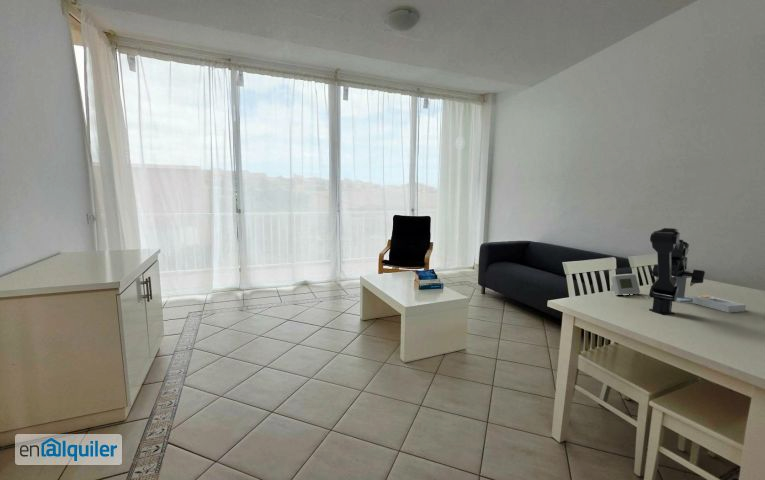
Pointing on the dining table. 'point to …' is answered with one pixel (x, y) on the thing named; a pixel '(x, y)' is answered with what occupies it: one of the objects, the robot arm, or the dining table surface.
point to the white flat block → (719, 303)
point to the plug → (681, 286)
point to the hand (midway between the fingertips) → (678, 283)
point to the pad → (684, 299)
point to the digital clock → (625, 284)
